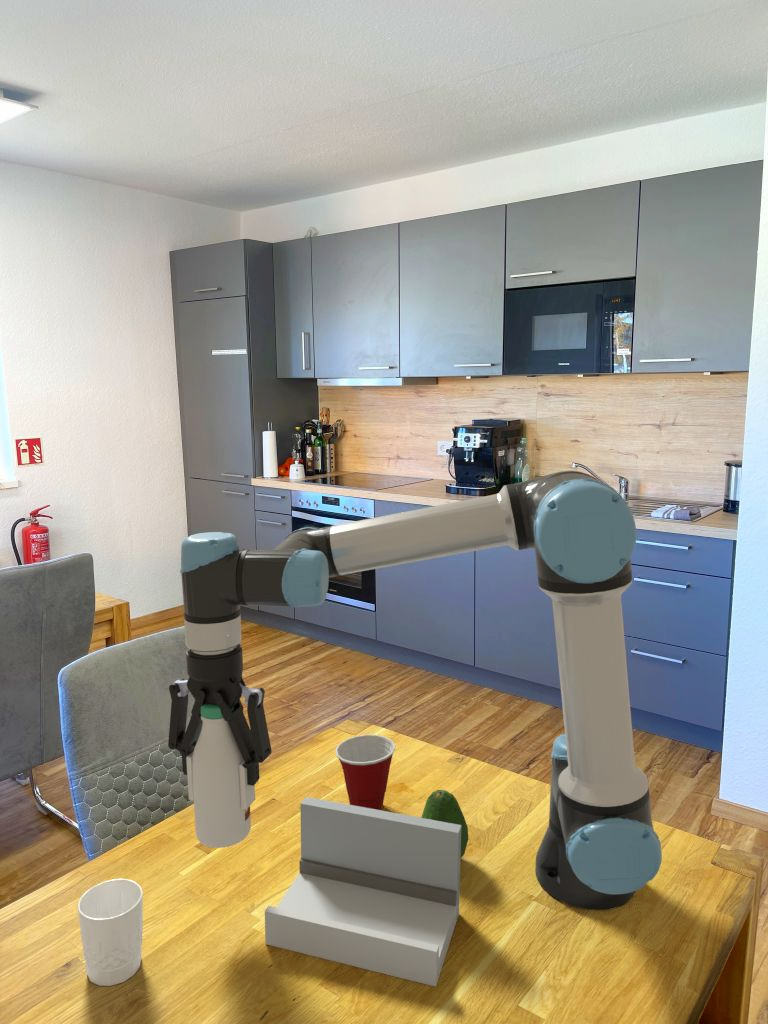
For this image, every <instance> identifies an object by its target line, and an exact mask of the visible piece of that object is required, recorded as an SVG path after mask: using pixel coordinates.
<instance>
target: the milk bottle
mask: <svg viewBox="0 0 768 1024" xmlns="http://www.w3.org/2000/svg"><path fill="white" fill-rule="evenodd" d="M233 710H234V707H233V708H232V709H231V712H232V711H233ZM200 714H201V720H202V721H203V724H202V729H201V733H200V736H199V738H198V741H197V743H196V746H195V748H194V753H193V761H192V774H193V795H194V801H193V811H194V823H195V824H194V827H195V836H196V838H197V840H198V842H200V844H202V845H203V846H205V847H209V848H215V849H219V848H220V849H221V848H228V847H231V846H235V845H237V844H239V843H241V842H243V841H244V840H245V839H246V838H247V837H248V835H249V833H250V831H251V825H252V824H251V823H252V822H251V821H252V820H251V819H252V817H251V805H250V806H249V807H248V808H247V810H244V809H241V790H240V769H239V765H240V764H241V763H242V762H243V761H244V760H243V757H242V755H241V753H240V750H239V748H238V745H237V743H236V741H235V738H234V736H233V734H232V731H231V729H230V726H229V724H228V722H227V721H225V720H224V718H223V716H222V713H221V710H220V708H219V706H218V705H211V704H204V705H202V706H201V711H200Z"/></svg>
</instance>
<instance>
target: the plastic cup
mask: <svg viewBox="0 0 768 1024" xmlns="http://www.w3.org/2000/svg"><path fill="white" fill-rule="evenodd" d="M395 750H396V745H395V742H394V741H393V740H392V739H391V738H390V737H386V736H383V735H380V734H362V735H355V736H352V737H349V738H347V739H344V740H343V741H341V742H340V743H338V744H337V746H336V747H335V750H334V751H335V757H336V758H337V759H338V760H339V762H340V765H341V769H342V771H343V778H344V782H345V788H346V792H347V797H348V802H349V803H348V804H349V805H354V806H360V807H365V808H371V809H376V810H381V811H382V809H383V805H384V801H385V796H386V792H387V788H388V787H387V786H388V782H389V781H388V780H389V775H390V774H389V773H390V769H391V764H392V759H393V754H394V752H395Z"/></svg>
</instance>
